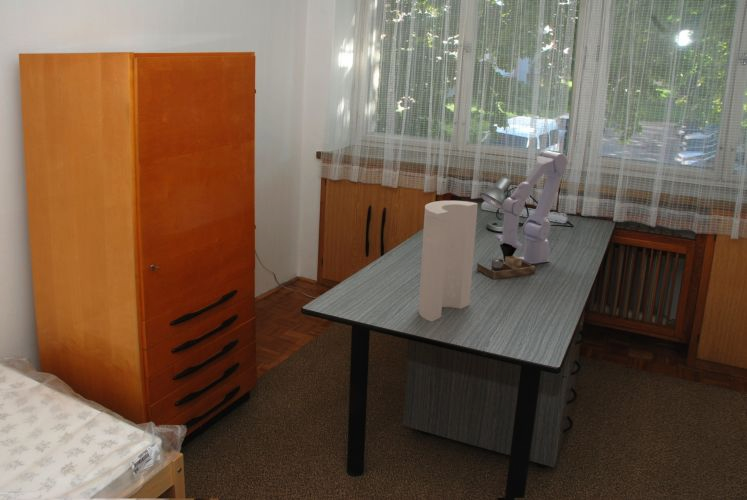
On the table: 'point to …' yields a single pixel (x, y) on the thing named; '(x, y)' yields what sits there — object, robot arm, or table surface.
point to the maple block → (513, 261)
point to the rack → (507, 270)
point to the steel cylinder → (497, 265)
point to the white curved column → (447, 256)
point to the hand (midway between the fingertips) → (507, 262)
